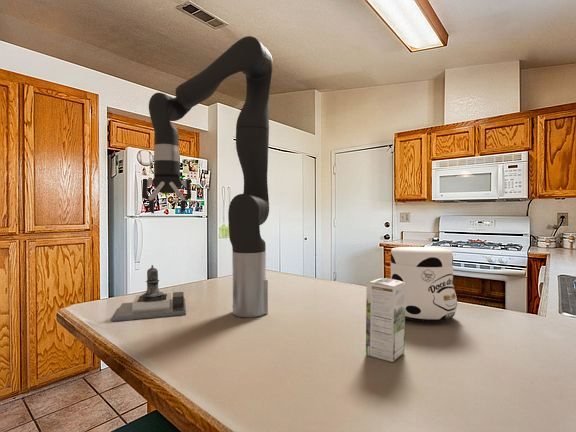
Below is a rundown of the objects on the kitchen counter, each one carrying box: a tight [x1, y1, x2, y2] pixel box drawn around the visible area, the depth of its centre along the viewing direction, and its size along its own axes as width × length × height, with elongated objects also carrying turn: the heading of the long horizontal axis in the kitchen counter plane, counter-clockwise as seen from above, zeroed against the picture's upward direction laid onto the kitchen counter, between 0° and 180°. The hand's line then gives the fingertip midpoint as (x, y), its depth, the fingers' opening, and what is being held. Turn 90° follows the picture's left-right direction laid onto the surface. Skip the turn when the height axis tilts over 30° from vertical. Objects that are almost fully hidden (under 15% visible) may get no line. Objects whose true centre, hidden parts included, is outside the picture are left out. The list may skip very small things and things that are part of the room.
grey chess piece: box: [141, 264, 164, 302], centre depth 97 cm, size 6×6×12 cm
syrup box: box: [365, 277, 406, 363], centre depth 66 cm, size 6×6×14 cm
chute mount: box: [112, 291, 187, 322], centre depth 97 cm, size 18×14×4 cm
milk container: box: [389, 246, 458, 323], centre depth 91 cm, size 17×17×18 cm
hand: (167, 213), depth 105 cm, fingers open, 8 cm apart
